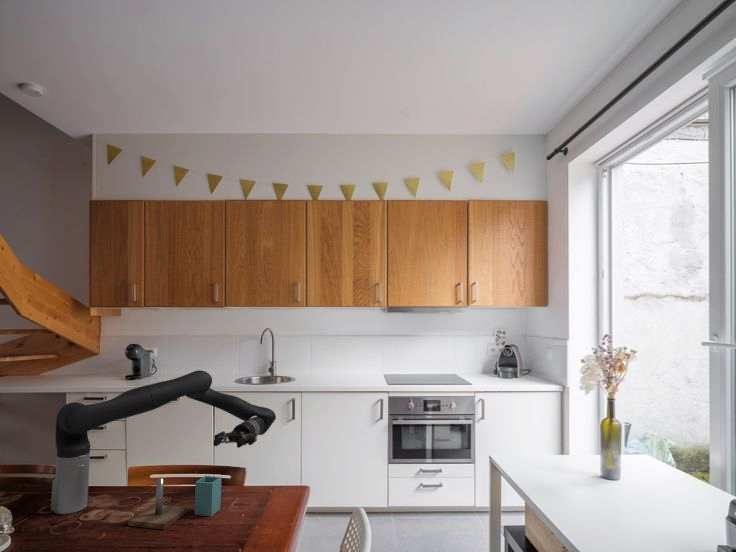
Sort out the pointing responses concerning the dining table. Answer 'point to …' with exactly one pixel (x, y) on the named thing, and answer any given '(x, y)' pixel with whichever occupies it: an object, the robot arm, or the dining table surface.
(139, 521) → the walnut base plate
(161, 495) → the steel post
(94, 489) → the dining table surface
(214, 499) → the teal sleeve
